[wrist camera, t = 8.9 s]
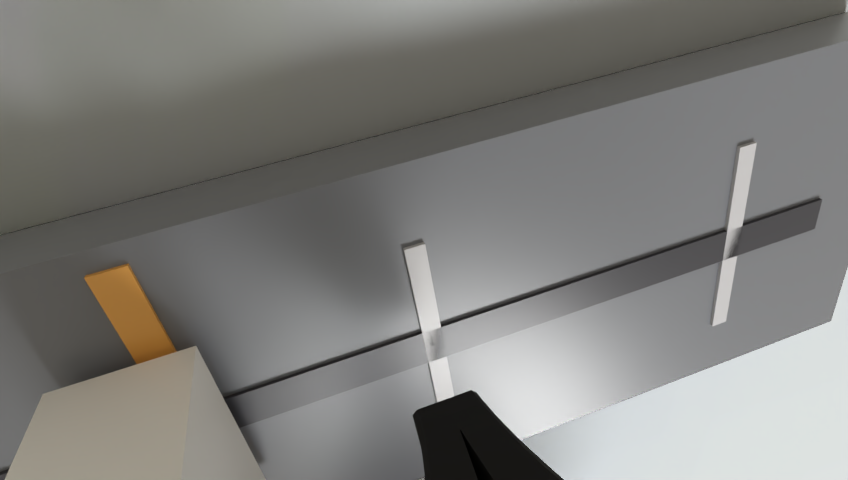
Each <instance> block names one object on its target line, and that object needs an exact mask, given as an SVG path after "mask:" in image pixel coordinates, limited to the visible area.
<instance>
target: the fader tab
mask: <svg viewBox="0 0 848 480" xmlns="http://www.w3.org/2000/svg"><path fill="white" fill-rule="evenodd" d="M5 480H266V479H265V477H264V475H263V473H262V471H261V469H260V467H259V465H258V464H257V462H256V460H255V458H254V456H253V454H252V452H251V450H250V448H249V446H248V444H247V442H246V441H245V439H244V437H243V435H242V433H241V431H240V429H239V427H238V425H237V423H236V421H235V419H234V417H233V416H232V414H231V412H230V410H229V408H228V406H227V404H226V402H225V400H224V398H223V396H222V394H221V392H220V391H219V389H218V387H217V385H216V383H215V381H214V379H213V377H212V375H211V373H210V371H209V369H208V367H207V366H206V364H205V362H204V360H203V358H202V356H201V354H200V352H199V350H198V348H197V346H193V347H190V348H187V349H184V350H181V351H178V352H174V353H171V354H168V355H165V356H162V357H159V358H155V359H152V360H149V361H146V362H143V363H140V364H136V365H133V366H130V367H127V368H124V369H120V370H117V371H114V372H111V373H108V374H105V375H101V376H98V377H95V378H92V379H89V380H86V381H82V382H79V383H76V384H73V385H70V386H67V387H63V388H60V389H57V390H54V391H51V392H47V393H44V394H43V395H42V397H41V399H40V401H39V404H38V406H37V408H36V410H35V413H34V415H33V417H32V419H31V422H30V424H29V426H28V428H27V430H26V433H25V435H24V437H23V439H22V442H21V444H20V446H19V448H18V451H17V453H16V455H15V457H14V460H13V462H12V464H11V466H10V469H9V471H8V473H7V475H6V478H5Z"/></svg>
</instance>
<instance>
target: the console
mask: <svg viewBox="0 0 848 480" xmlns="http://www.w3.org/2000/svg"><path fill="white" fill-rule="evenodd" d="M847 267H848V12H846V13H842V14H838V15H834V16H830V17H827V18H823V19H819V20H815V21H811V22H808V23H804V24H800V25H796V26H792V27H789V28H785V29H781V30H777V31H774V32H770V33H766V34H762V35H758V36H755V37H751V38H747V39H743V40H739V41H736V42H732V43H728V44H724V45H720V46H717V47H713V48H709V49H705V50H702V51H698V52H694V53H690V54H686V55H683V56H679V57H675V58H671V59H667V60H664V61H660V62H656V63H652V64H649V65H645V66H641V67H637V68H633V69H630V70H626V71H622V72H618V73H614V74H611V75H607V76H603V77H599V78H595V79H592V80H588V81H584V82H580V83H577V84H573V85H569V86H565V87H561V88H558V89H554V90H550V91H546V92H542V93H539V94H535V95H531V96H527V97H523V98H520V99H516V100H512V101H508V102H505V103H501V104H497V105H493V106H489V107H486V108H482V109H478V110H474V111H470V112H467V113H463V114H459V115H455V116H452V117H448V118H444V119H440V120H436V121H433V122H429V123H425V124H421V125H417V126H414V127H410V128H406V129H402V130H398V131H395V132H391V133H387V134H383V135H380V136H376V137H372V138H368V139H364V140H361V141H357V142H353V143H349V144H345V145H342V146H338V147H334V148H330V149H326V150H323V151H319V152H315V153H311V154H308V155H304V156H300V157H296V158H292V159H289V160H285V161H281V162H277V163H273V164H270V165H266V166H262V167H258V168H255V169H251V170H247V171H243V172H239V173H236V174H232V175H228V176H224V177H220V178H217V179H213V180H209V181H205V182H201V183H198V184H194V185H190V186H186V187H183V188H179V189H175V190H171V191H167V192H164V193H160V194H156V195H152V196H148V197H145V198H141V199H137V200H133V201H129V202H126V203H122V204H118V205H114V206H111V207H107V208H103V209H99V210H95V211H92V212H88V213H84V214H80V215H76V216H73V217H69V218H65V219H61V220H58V221H54V222H50V223H46V224H42V225H39V226H35V227H31V228H27V229H23V230H20V231H16V232H12V233H8V234H4V235H1V236H0V480H5V478H6V475H7V473H8V471H9V469H10V466H11V464H12V462H13V460H14V457H15V455H16V453H17V451H18V448H19V446H20V444H21V442H22V439H23V437H24V435H25V433H26V430H27V428H28V426H29V424H30V422H31V419H32V417H33V415H34V413H35V410H36V408H37V406H38V404H39V401H40V399H41V397H42V395H43V394H44V393H47V392H51V391H54V390H57V389H60V388H63V387H67V386H70V385H73V384H76V383H79V382H82V381H86V380H89V379H92V378H95V377H98V376H101V375H105V374H108V373H111V372H114V371H117V370H120V369H124V368H127V367H130V366H133V365H136V364H140V363H143V362H146V361H149V360H152V359H155V358H159V357H162V356H165V355H168V354H171V353H174V352H178V351H181V350H184V349H187V348H190V347H193V346H197V348H198V350H199V352H200V354H201V356H202V358H203V360H204V362H205V364H206V366H207V367H208V369H209V371H210V373H211V375H212V377H213V379H214V381H215V383H216V385H217V387H218V389H219V391H220V392H221V394H222V396H223V398H224V400H225V402H226V404H227V406H228V408H229V410H230V412H231V414H232V416H233V417H234V419H235V421H236V423H237V425H238V427H239V429H240V431H241V433H242V435H243V437H244V439H245V441H246V442H247V444H248V446H249V448H250V450H251V452H252V454H253V456H254V458H255V460H256V462H257V464H258V465H259V467H260V469H261V471H262V473H263V475H264V477H265V479H266V480H418V479H421V478H424V477H425V473H424V465H423V457H422V450H421V446H420V442H419V438H418V435H417V431H416V427H415V423H414V419H413V414H414V413H415V411H416V410H417V409H420V408H423V407H426V406H429V405H431V404H434V403H437V402H440V401H442V400H445V399H448V398H451V397H453V396H456V395H459V394H462V393H465V392H467V391H470V390H472V391H474V392H477V394H478V395H479V396H480V397H481V399H482V400H483V401H484V402H485V403H486V404H487V406H488V407H489V408H490V409H491V410H492V411H493V412H494V414H495V415H496V416H497V417H498V418H499V419H500V420H501V421H502V422H503V423H504V424H505V425H506V426H507V427H508V428H509V429H510V430H511V431H512V432H513V433H514V434H515V435H516V436H517V437H518V438H519V439H520V440H522V439H525V438H528V437H530V436H533V435H535V434H538V433H541V432H543V431H546V430H549V429H551V428H554V427H556V426H559V425H562V424H564V423H567V422H569V421H572V420H575V419H577V418H580V417H582V416H585V415H588V414H590V413H593V412H595V411H598V410H601V409H603V408H606V407H608V406H611V405H614V404H616V403H619V402H621V401H624V400H627V399H629V398H632V397H634V396H637V395H640V394H642V393H645V392H647V391H650V390H653V389H655V388H658V387H660V386H663V385H666V384H668V383H671V382H673V381H676V380H679V379H681V378H684V377H686V376H689V375H692V374H694V373H697V372H699V371H702V370H705V369H707V368H710V367H712V366H715V365H718V364H720V363H723V362H725V361H728V360H731V359H733V358H736V357H738V356H741V355H744V354H746V353H749V352H751V351H754V350H757V349H759V348H762V347H764V346H767V345H770V344H772V343H775V342H777V341H780V340H783V339H785V338H788V337H790V336H793V335H796V334H798V333H801V332H803V331H806V330H809V329H811V328H814V327H816V326H819V325H822V324H824V323H827V322H829V321H831V319H832V316H833V312H834V309H835V306H836V303H837V299H838V296H839V293H840V290H841V286H842V283H843V280H844V277H845V273H846V270H847Z"/></svg>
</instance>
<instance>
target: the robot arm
mask: <svg viewBox="0 0 848 480" xmlns="http://www.w3.org/2000/svg"><path fill="white" fill-rule="evenodd" d="M413 419H414V423H415V427H416V431H417V435H418V438H419V442H420V446H421V450H422V457H423V465H424V473H425V480H564V479H562V478H561V477H560V476H559V475H558V474H557V473H555V472H554V471H553V470H552V469H551V468H550V467H549V466H548V465H546V464H545V463H544V462H543V461H542V460H541V459H540V458H539V457H538V456H537V455H536V454H535V453H533V452H532V451H531V450H530V449H529V448H528V447H527V446H526V445H525V444H524V443H523V442H522V441H521V440H520V439H519V438H518V437H517V436H516V435H515V434H514V433H513V432H512V431H511V430H510V429H509V428H508V427H507V426H506V425H505V424H504V423H503V422H502V421H501V420H500V419H499V418H498V417H497V416H496V415H495V414H494V412H493V411H492V410H491V409H490V408H489V407H488V406H487V404H486V403H485V402H484V401H483V400H482V399H481V397H480V396H479V395H478V394H477V392H474V391H472V390H470V391H467V392H465V393H462V394H459V395H456V396H453V397H451V398H448V399H445V400H442V401H440V402H437V403H434V404H431V405H429V406H426V407H423V408H420V409H417V410H416V411H415V413H414V414H413Z"/></svg>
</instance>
